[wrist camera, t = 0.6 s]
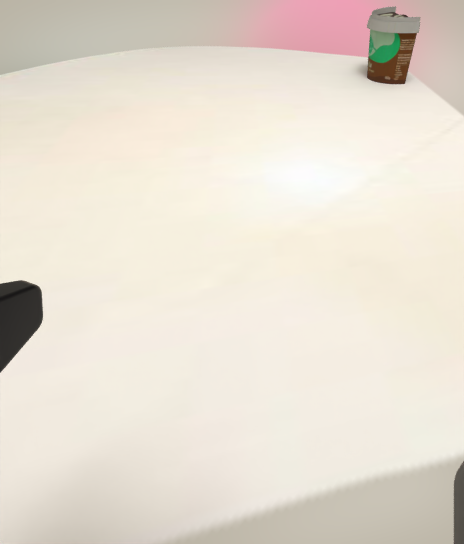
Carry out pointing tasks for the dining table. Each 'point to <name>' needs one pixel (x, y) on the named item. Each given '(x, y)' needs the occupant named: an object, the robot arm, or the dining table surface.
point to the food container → (390, 45)
